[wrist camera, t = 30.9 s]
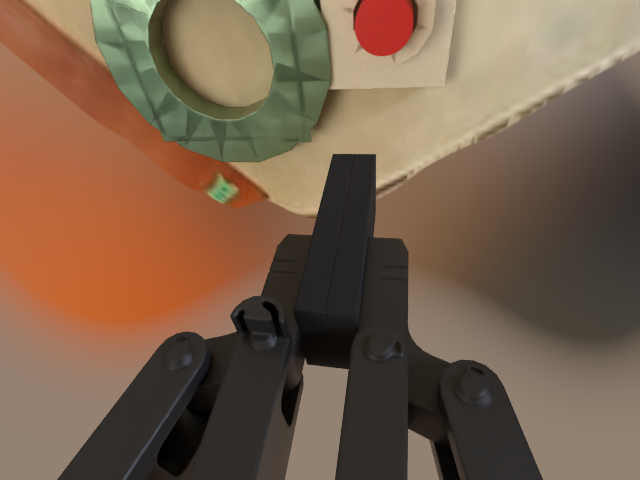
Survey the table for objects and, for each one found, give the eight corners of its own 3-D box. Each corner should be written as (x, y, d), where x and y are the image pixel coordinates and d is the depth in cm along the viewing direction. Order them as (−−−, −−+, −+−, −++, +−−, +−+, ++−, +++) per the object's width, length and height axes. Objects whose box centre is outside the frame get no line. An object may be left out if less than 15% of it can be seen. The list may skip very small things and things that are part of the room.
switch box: (467, -108, 25) (474, -102, 22) (443, 77, 33) (446, 98, 31) (317, -91, 27) (306, -83, 24) (331, 80, 35) (324, 100, 32)
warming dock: (321, -120, 26) (315, -117, 24) (340, 150, 40) (337, 163, 39) (57, -86, 29) (36, -81, 28) (163, 148, 44) (153, 160, 43)
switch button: (415, -18, 26) (415, -10, 24) (411, 45, 29) (411, 55, 27) (356, -14, 26) (353, -6, 25) (358, 47, 29) (355, 57, 28)
